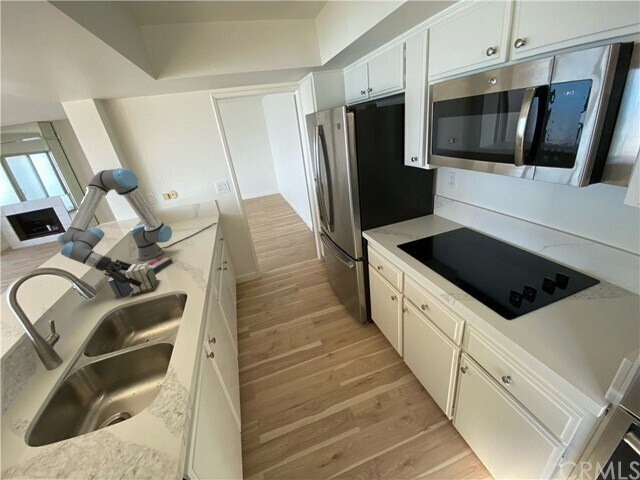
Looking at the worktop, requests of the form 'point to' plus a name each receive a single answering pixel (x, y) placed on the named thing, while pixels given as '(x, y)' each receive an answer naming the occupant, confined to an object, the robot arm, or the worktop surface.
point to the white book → (133, 276)
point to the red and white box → (159, 264)
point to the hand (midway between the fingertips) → (143, 280)
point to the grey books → (120, 287)
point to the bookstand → (145, 279)
